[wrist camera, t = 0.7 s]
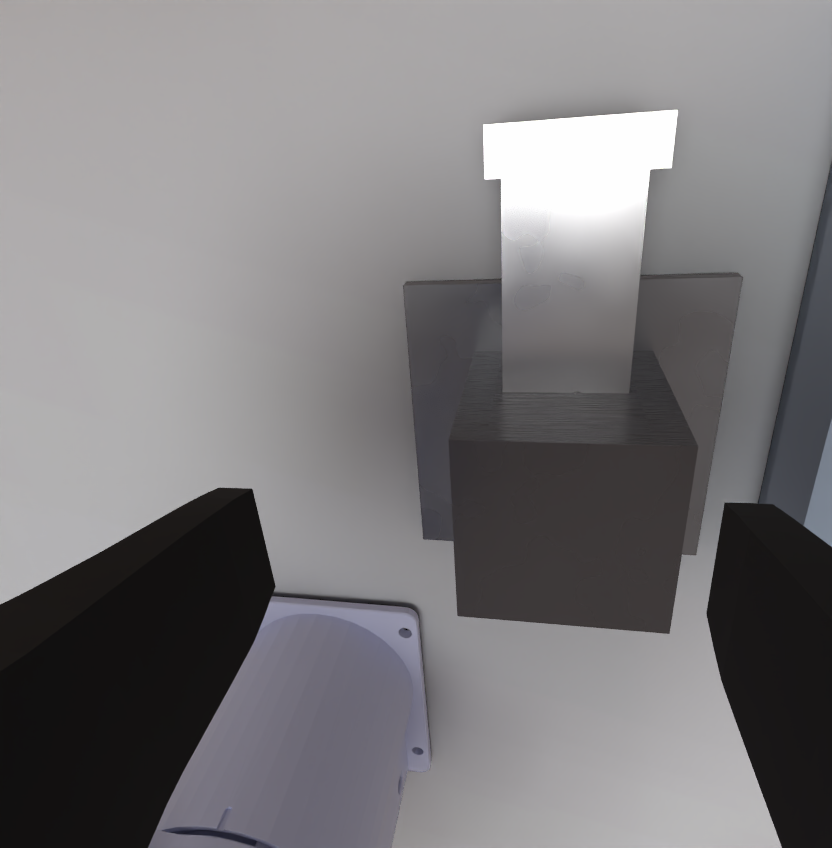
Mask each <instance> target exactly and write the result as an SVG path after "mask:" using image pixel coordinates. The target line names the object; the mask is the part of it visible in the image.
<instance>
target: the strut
mask: <svg viewBox="0 0 832 848" xmlns="http://www.w3.org/2000/svg"><path fill="white" fill-rule="evenodd" d="M677 113H678V110H667V111H651V112H638V113H625V114H612V115H600V116H587V117H574V118H561V119H548V120H535V121H523V122H510V123H497V124H487V125H483V129H484V179H498V178H501V244H502V351H474V355H473V358H472V362H471V365H470V368H469V372H468V375H467V379H466V382H465V385H464V389H463V392H462V396H461V399H460V402H459V406H458V409H457V412H456V416H455V419H454V423H453V426H452V429H451V433H450V436H449V440H448V442H449V461H450V481H451V500H452V519H453V538H454V557H455V576H456V595H457V614H458V616H464V617H476V618H488V619H500V620H512V621H524V622H536V623H548V624H560V625H572V626H584V627H596V628H608V629H619V630H631V631H643V632H655V633H667V634H669V633H670V626H671V620H672V613H673V607H674V601H675V594H676V588H677V581H678V575H679V568H680V562H681V556H682V549H683V543H684V536H685V530H686V524H687V517H688V511H689V504H690V498H691V491H692V485H693V479H694V472H695V466H696V459H697V453H698V447H699V446H698V444H697V442H696V440H695V438H694V436H693V434H692V432H691V430H690V427H689V425H688V423H687V421H686V419H685V417H684V415H683V413H682V411H681V408H680V406H679V404H678V402H677V400H676V398H675V396H674V394H673V392H672V389H671V387H670V385H669V383H668V381H667V379H666V377H665V375H664V373H663V370H662V368H661V366H660V364H659V362H658V360H657V358H656V356H655V354H654V351H633V346H634V335H635V325H636V314H637V303H638V293H639V282H640V271H641V261H642V250H643V239H644V229H645V218H646V207H647V196H648V186H649V175H650V169H665V168H672V160H673V150H674V141H675V132H676V123H677Z"/></svg>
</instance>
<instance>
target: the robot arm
mask: <svg viewBox="0 0 832 848" xmlns="http://www.w3.org/2000/svg"><path fill="white" fill-rule="evenodd" d="M274 589H275V583H274V578H273V574H272V570H271V566H270V561H269V557H268V553H267V549H266V545H265V540H264V536H263V532H262V528H261V524H260V519H259V515H258V511H257V507H256V502H255V498H254V494H253V490H252V489H241V488H217V489H215V490H213V491H211V492H208V493H206V494H204V495H202V496H200V497H198V498H196V499H194V500H192V501H190V502H188V503H187V504H185V505H183V506H181V507H179V508H177V509H176V510H174V511H172V512H170V513H169V514H167V515H165V516H163V517H162V518H160V519H158V520H156V521H154V522H153V523H151V524H149V525H147V526H146V527H144V528H142V529H140V530H139V531H137V532H135V533H133V534H132V535H130V536H128V537H126V538H125V539H123V540H121V541H119V542H118V543H116V544H114V545H112V546H111V547H109V548H107V549H105V550H104V551H102V552H100V553H98V554H96V555H95V556H93V557H91V558H89V559H87V560H85V561H83V562H81V563H80V564H78V565H76V566H74V567H72V568H70V569H68V570H66V571H65V572H63V573H61V574H59V575H57V576H55V577H53V578H51V579H50V580H48V581H46V582H44V583H42V584H40V585H38V586H36V587H34V588H33V589H31V590H29V591H27V592H25V593H23V594H21V595H19V596H17V597H15V598H13V599H11V600H9V601H7V602H5V603H3V604H1V605H0V848H391V847H392V842H393V838H394V833H395V828H396V823H397V818H398V814H399V809H400V804H401V799H402V794H403V789H404V785H405V780H406V775H407V770H408V771H415V772H426V771H428V770H429V769H430V765H431V750H430V739H429V727H428V716H427V705H426V694H425V683H424V672H423V661H422V650H421V639H420V628H419V618H418V615H417V613H416V612H415V611H414V610H412V609H410V608H407V607H398V606H386V605H373V604H361V603H349V602H337V601H325V600H313V599H301V598H288V597H276V596H272V594H273V591H274ZM707 618H708V623H709V628H710V632H711V637H712V642H713V647H714V651H715V655H716V659H717V664H718V668H719V672H720V676H721V680H722V683H723V686H724V689H725V692H726V695H727V698H728V701H729V703H730V706H731V709H732V712H733V714H734V717H735V720H736V723H737V726H738V728H739V731H740V734H741V737H742V739H743V742H744V745H745V748H746V750H747V753H748V756H749V758H750V761H751V764H752V767H753V769H754V772H755V775H756V778H757V780H758V783H759V786H760V788H761V791H762V794H763V797H764V799H765V802H766V805H767V808H768V810H769V813H770V816H771V818H772V821H773V824H774V827H775V829H776V832H777V835H778V838H779V840H780V843H781V846H782V848H832V547H831V546H830V545H828V544H827V543H826V542H824V541H823V540H822V539H820V538H819V537H818V536H816V535H815V534H814V533H812V532H811V531H810V530H808V529H807V528H806V527H804V526H803V525H802V524H800V523H799V522H798V521H796V520H795V519H794V518H792V517H791V516H789V515H788V514H787V513H785V512H784V511H782V510H781V509H779V508H778V507H776V506H775V505H773V504H753V503H725V504H724V510H723V517H722V523H721V529H720V535H719V541H718V547H717V553H716V559H715V565H714V571H713V577H712V583H711V590H710V596H709V602H708V608H707ZM403 628H407V629H409V630H404V629H403Z"/></svg>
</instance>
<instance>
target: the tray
mask: <svg viewBox="0 0 832 848" xmlns="http://www.w3.org/2000/svg"><path fill="white" fill-rule="evenodd" d="M758 504H773V505H775V506H776V507H778V508H779V509H781V510H782V511H784V512H785V513H787V514H788V515H789V516H791V517H792V518H794V519H795V520H796V521H798V522H799V523H800V524H802V525H803V526H804V527H806V528H807V529H808V530H810V531H811V532H812V533H814V534H815V535H816V536H818V537H819V538H820V539H822V540H823V541H824V542H826V543H827V544H828V545H830V546H831V547H832V164H831V169H830V173H829V178H828V183H827V187H826V192H825V197H824V201H823V206H822V211H821V215H820V220H819V224H818V229H817V234H816V238H815V243H814V248H813V252H812V257H811V261H810V266H809V271H808V275H807V280H806V285H805V289H804V294H803V299H802V303H801V308H800V312H799V317H798V322H797V326H796V331H795V336H794V340H793V345H792V349H791V354H790V359H789V363H788V368H787V373H786V377H785V382H784V387H783V391H782V396H781V400H780V405H779V410H778V414H777V419H776V424H775V428H774V433H773V437H772V442H771V447H770V451H769V456H768V461H767V465H766V470H765V475H764V479H763V484H762V488H761V493H760V498H759V502H758Z"/></svg>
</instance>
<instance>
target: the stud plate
mask: <svg viewBox="0 0 832 848" xmlns="http://www.w3.org/2000/svg"><path fill="white" fill-rule="evenodd" d="M742 280H743V277H742V276H741V275H740V274H739V273H708V274H672V275H640V282H639V293H638V303H637V314H636V325H635V335H634V346H633V351H654V354H655V356H656V358H657V360H658V362H659V364H660V366H661V368H662V370H663V373H664V375H665V377H666V379H667V381H668V383H669V385H670V387H671V389H672V392H673V394H674V396H675V398H676V400H677V402H678V404H679V406H680V408H681V411H682V413H683V415H684V417H685V419H686V421H687V423H688V425H689V427H690V430H691V432H692V434H693V436H694V438H695V440H696V442H697V444H698V446H699V447H698V453H697V459H696V466H695V472H694V479H693V485H692V491H691V498H690V504H689V511H688V517H687V524H686V530H685V536H684V543H683V549H682V554H683V555H696V552H697V546H698V540H699V535H700V529H701V523H702V517H703V511H704V505H705V499H706V493H707V487H708V481H709V475H710V470H711V464H712V458H713V452H714V446H715V440H716V434H717V428H718V422H719V416H720V410H721V404H722V399H723V393H724V387H725V381H726V375H727V369H728V363H729V357H730V351H731V345H732V339H733V333H734V328H735V322H736V316H737V310H738V304H739V298H740V292H741V286H742ZM403 289H404V302H405V314H406V327H407V339H408V352H409V364H410V377H411V389H412V402H413V415H414V427H415V440H416V452H417V465H418V477H419V490H420V502H421V515H422V527H423V539H429V540H446V541H454V538H453V519H452V500H451V481H450V461H449V442H448V440H449V436H450V433H451V429H452V426H453V423H454V419H455V416H456V412H457V409H458V406H459V402H460V399H461V396H462V392H463V389H464V385H465V382H466V379H467V375H468V372H469V368H470V365H471V362H472V358H473V355H474V351H502V279H487V280H451V281H414V282H406V283H405V284H404V285H403Z"/></svg>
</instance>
